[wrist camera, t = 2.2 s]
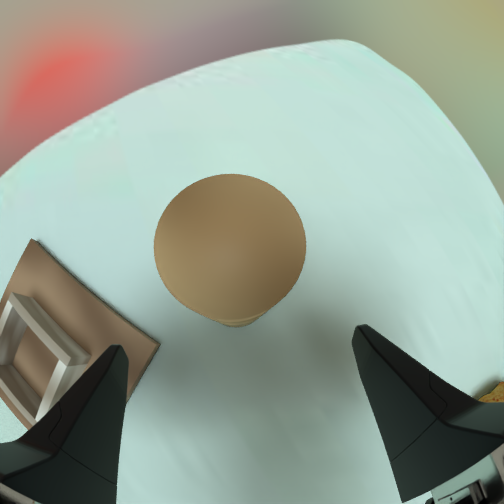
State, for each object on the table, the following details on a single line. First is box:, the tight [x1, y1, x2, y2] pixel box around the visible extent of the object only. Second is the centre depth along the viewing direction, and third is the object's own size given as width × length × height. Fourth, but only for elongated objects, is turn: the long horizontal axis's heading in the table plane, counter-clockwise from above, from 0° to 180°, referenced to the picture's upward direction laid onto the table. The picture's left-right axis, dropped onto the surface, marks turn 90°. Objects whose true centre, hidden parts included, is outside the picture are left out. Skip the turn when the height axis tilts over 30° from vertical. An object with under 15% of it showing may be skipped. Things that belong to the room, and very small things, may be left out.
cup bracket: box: [0, 238, 160, 430], centre depth 16 cm, size 16×16×4 cm
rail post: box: [154, 174, 306, 327], centre depth 14 cm, size 4×4×13 cm
